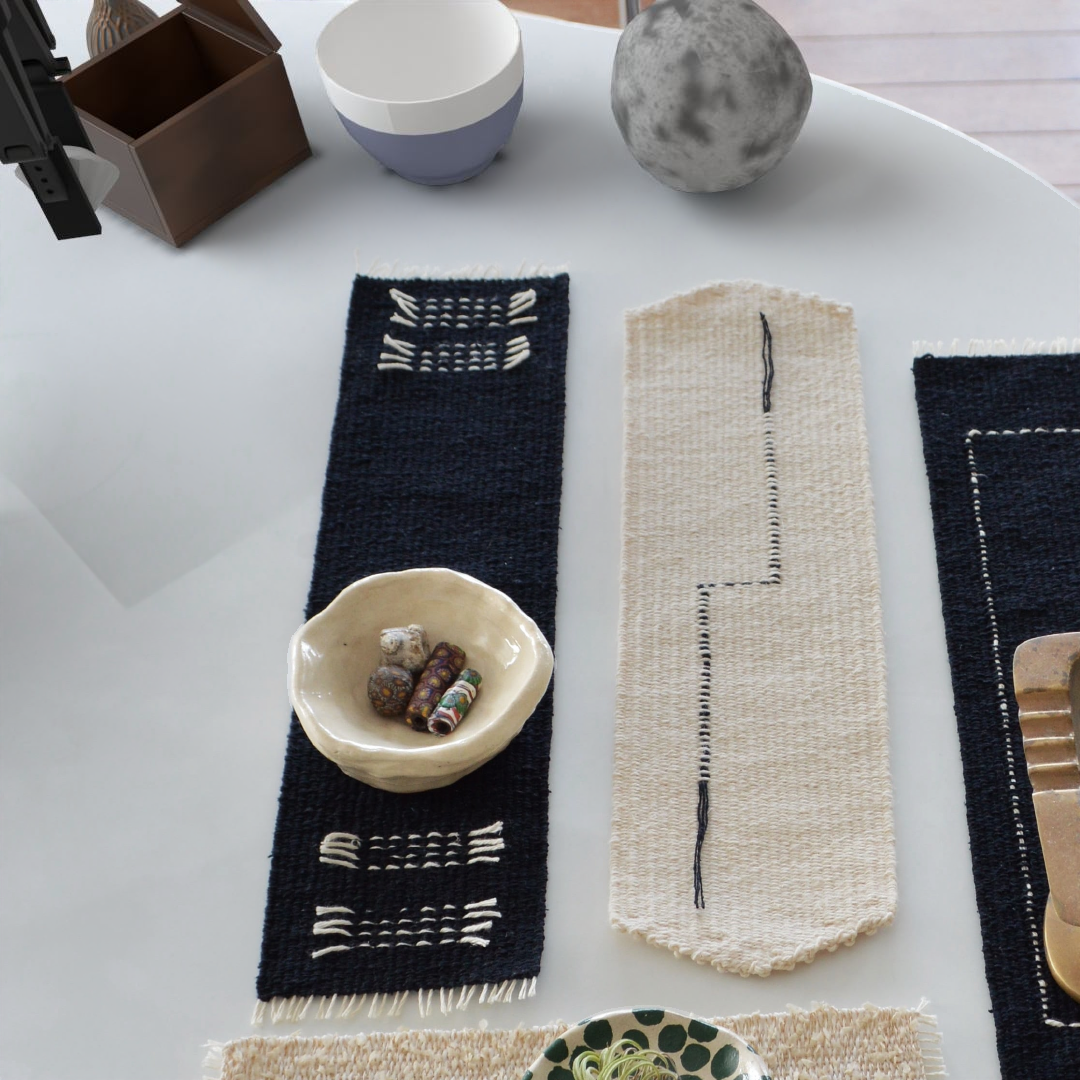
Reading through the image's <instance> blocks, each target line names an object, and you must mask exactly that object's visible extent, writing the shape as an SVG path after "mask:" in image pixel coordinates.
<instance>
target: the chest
mask: <svg viewBox="0 0 1080 1080" xmlns="http://www.w3.org/2000/svg"><path fill="white" fill-rule="evenodd" d="M159 17H160V18H158V19H156V20H155V21H153V22H151V23H150V24H148V25H146V26H145V27H143V28H141V29H140V30H138V31H136V32H135V33H133V34H131V35H130V36H128V37H126V38H125V39H123V40H121V41H120V42H118V43H116V44H115V45H113V46H111V47H110V48H108V49H106V50H105V51H103V52H101V53H100V54H98V55H96V56H95V57H93V58H91V59H90V58H89V59H88V60H86V61H85V62H83V63H81V64H80V65H78V66H77V67H75V68H73V69H71V70H72V74H71V75H64V76H59V77H58V78H55V79H56V81H62V82H63V84H64V86H65V88H66V90H67V92H68V95H69V97H70V99H71V101H72V103H73V105H74V107H75V110H76V112H77V114H78V116H79V118H80V120H81V122H82V125H83V127H84V129H85V131H86V133H87V135H88V137H89V140H90V142H91V144H92V146H93V148H94V150H95V153H96V155H98V156H99V157H101V158H103V159H105V160H107V161H109V162H111V163H112V164H114V165H115V166H117V168H118V169H119V171H120V174H119V178H118V179H117V180H116V182H115V183H114V185H113V186H112V188H111V189H110V191H109V192H108V194H107V195H106V196H105V198H104V199H103V201H102V202H101V205H104V206H106V207H107V208H109V209H111V210H113V211H114V212H115V213H118V214H119V215H121V216H122V217H124V218H126V219H127V220H129V221H130V222H133V223H134V224H136V225H137V226H139V227H142V229H144V230H146V231H148V232H150V233H152V235H155V236H156V237H158V238H160V239H161V240H163V241H165V242H166V243H168V244H169V245H172V246H173V247H174V248H180V247H181V246H183V245H184V244H185V243H187V242H188V241H190V240H191V239H192V238H195V236H197V235H198V234H200V233H201V232H203V231H204V230H206V229H208V228H209V227H210V226H211V225H213V224H214V223H216V222H217V221H218V220H220V219H222V218H223V217H225V216H226V215H227V214H229V213H231V212H232V211H233V210H235V209H236V208H238V207H239V206H241V205H242V204H243V203H245V202H246V201H248V200H249V199H251V198H252V197H254V196H255V195H257V194H258V193H260V192H261V191H262V190H265V188H267V187H268V186H270V185H271V184H272V183H274V182H276V181H277V180H279V178H281V177H283V176H284V175H285V174H287V173H288V172H290V171H291V170H293V169H294V168H296V167H297V166H299V165H300V164H302V163H303V162H304V161H306V160H307V159H309V158H310V157H312V156H313V151H312V148H311V146H310V143H309V140H308V135H307V133H306V130H305V127H304V122H303V120H302V116H301V113H300V111H299V106H298V104H297V101H296V98H295V95H294V92H293V88H292V84H291V82H290V79H289V75H288V72H287V69H286V66H285V64H284V63H285V62H284V59H283V56H282V54H280V53H278V52H274V51H272V50H270V49H269V48H267V47H265V46H263V45H261V44H259V43H257V42H255V41H253V40H251V39H249V38H247V37H245V36H243V35H241V34H239V33H237V32H235V31H233V30H231V29H229V28H227V27H226V26H224V25H222V24H220V23H218V22H216V21H214V20H212V19H210V18H208V17H206V16H204V15H202V14H200V13H198V12H196V11H194V10H192V9H190V8H188V7H186V6H184V5H182V4H181V3H180V5H178V6H177V7H174V8H173V9H171V10H170V11H168V12H166V13H164V14H163V15H162V16H159Z"/></svg>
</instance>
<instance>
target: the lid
mask: <svg viewBox="0 0 1080 1080" xmlns="http://www.w3.org/2000/svg"><path fill="white" fill-rule="evenodd" d="M175 1H176V3H179V4H180V5H181V4H182V5H184V6H186V7H188V8H190V9H192V10H194V11H196V12H198V13H200V14H202V15H204V16H206V17H208V18H210V19H212V20H214V21H216V22H218V23H220V24H222V25H224V26H226V27H227V28H229V29H231V30H233V31H235V32H237V33H239V34H241V35H243V36H245V37H247V38H249V39H251V40H253V41H255V42H257V43H259V44H261V45H263V46H265V47H267V48H269V49H270V50H272V51H274V52H276V53H278V52H279V50H280V49H281V48H282V47H283V44H282V43H281V41H280V40H279V38H278V37H277V35H276V34H275V33H274V32H273V30H272V29H271V28H270V27H269V25H268V24H267V23H266V22H265V21H264V19H263V18H262V16H261V15H260V14H259V13H258V11H257V10H256V8H255V7H254V6H253V4H252V3H251V2H250V0H175Z"/></svg>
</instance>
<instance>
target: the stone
mask: <svg viewBox="0 0 1080 1080" xmlns="http://www.w3.org/2000/svg"><path fill="white" fill-rule="evenodd" d="M813 87H814V86H813V82H812V77H811V74H810V72H809V69H808V66H807V63H806V60H805V59H804V56H803V54H802V51H801V50H800V49H799V47H798V45H797V44H796V42H795V41H794V39H793V38H792V37H791V36H790V34H789V33H788V31H786V29H785V28H784V27H783V26H782V25H781V24H780V23H779V22H778V21H777V20H776V18H775V17H773V15H771V14H770V13H769V12H768V11H766V10H765V8H763V7H762V6H760V5H759V4H758V3H757V2H755V1H754V0H655V1H653V2H652V3H651V4H650V5H648V6H647V7H645V8H643V9H642V10H641V11H640V12H639V13H638V14H637V15H636V16H635V17H634V18H633V19H631V20H630V22H628V24H627V26H625V28H624V29H623V31H622V33H621V35H620V36H619V40H618V42H617V45H616V49H615V54H614V59H613V63H612V70H611V83H610V104H611V105H610V106H611V110H612V114H613V117H614V120H615V122H616V125H617V127H618V130H619V132H620V134H621V136H622V139H623V141H624V143H625V145H626V147H627V149H628V150H629V152H630V154H631V156H633V158H634V159H635V161H636V162H637V164H638V165H639V166H640V167H641V168H642V169H643V170H644V171H645V172H647V173H648V174H649V175H650V176H652V177H653V179H655V180H656V181H658V182H660V183H661V184H663V185H665V186H666V187H668V188H670V189H672V190H676V191H681V192H687V193H697V194H705V193H707V194H708V193H716V192H717V193H718V192H723V191H729V190H734V189H738V188H740V187H743V186H746V185H747V184H750V183H752V182H755V181H756V180H757V181H758V179H760V178H762V177H763V176H765V175H766V174H768V173H769V172H770V171H771V170H773V169H774V168H775V167H777V166H778V165H779V164H780V162H781V161H782V160H783V159H784V158H785V157H786V156H787V154H788V153H789V152H790V150H791V149H792V147H793V146H794V144H795V142H796V141H797V139H798V137H799V135H800V134H801V131H802V129H803V126H804V124H805V122H806V120H807V117H808V114H809V111H810V108H811V106H812V101H813V93H814V92H813V91H814V88H813Z"/></svg>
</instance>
